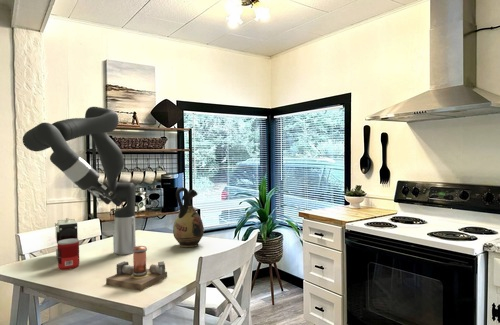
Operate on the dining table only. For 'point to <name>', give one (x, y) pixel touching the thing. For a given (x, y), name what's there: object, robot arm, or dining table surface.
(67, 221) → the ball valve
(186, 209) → the ceramic jug
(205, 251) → the dining table surface
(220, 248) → the dining table surface
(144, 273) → the sleeve
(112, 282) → the shaft bench
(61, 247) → the canned food
